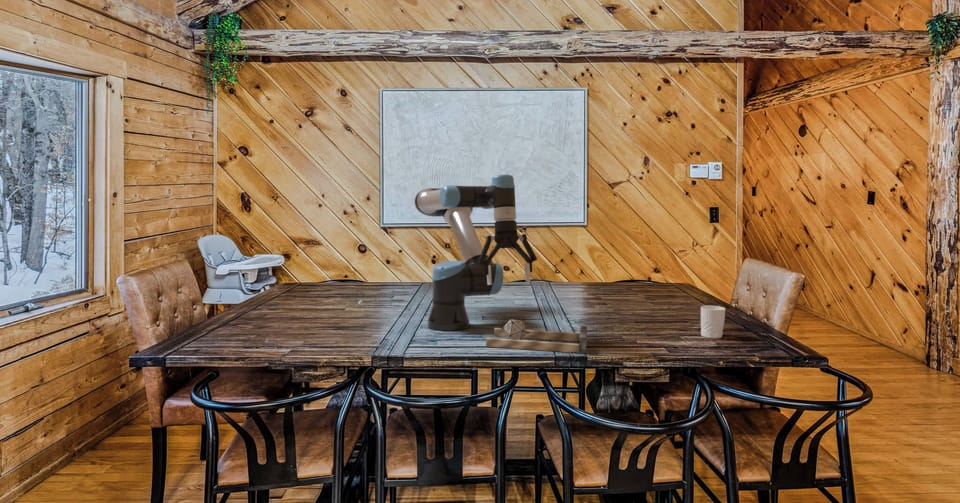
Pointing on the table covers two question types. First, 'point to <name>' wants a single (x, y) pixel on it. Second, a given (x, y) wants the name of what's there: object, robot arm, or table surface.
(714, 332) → the white cup
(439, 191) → the robot arm
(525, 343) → the guide channel
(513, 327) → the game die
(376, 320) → the table surface
